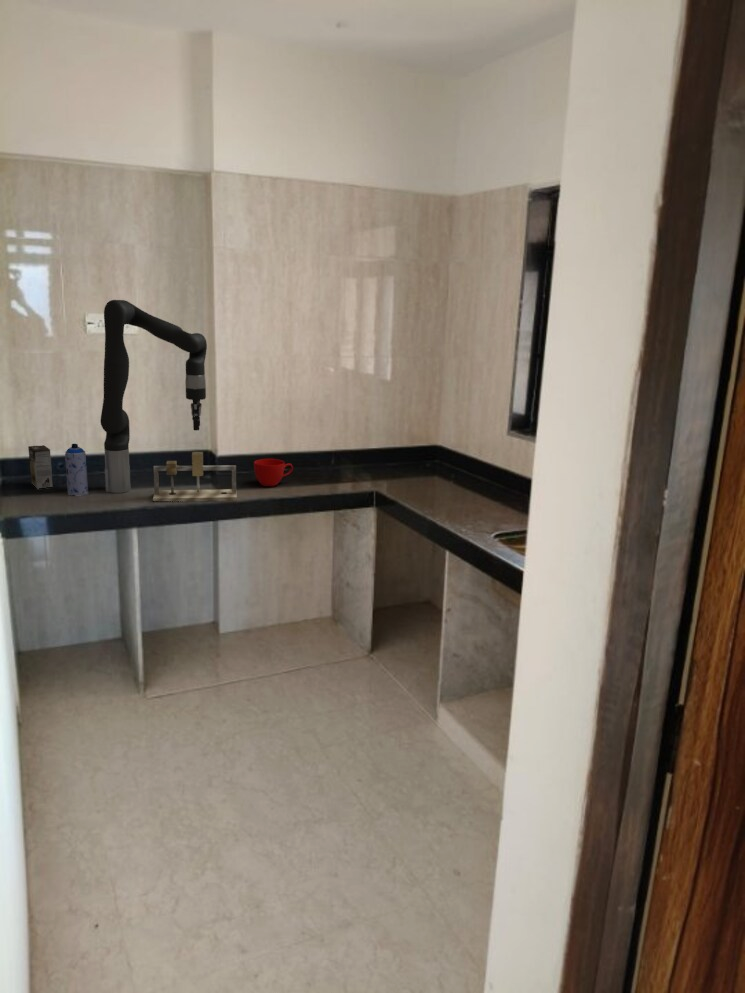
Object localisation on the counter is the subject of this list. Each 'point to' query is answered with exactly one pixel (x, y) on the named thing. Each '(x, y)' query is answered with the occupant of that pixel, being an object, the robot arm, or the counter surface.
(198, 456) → the trammel head
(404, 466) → the counter surface
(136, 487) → the counter surface
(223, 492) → the grey rail frame stand
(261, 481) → the ceramic cup
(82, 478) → the aerosol can
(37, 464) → the coffee box
